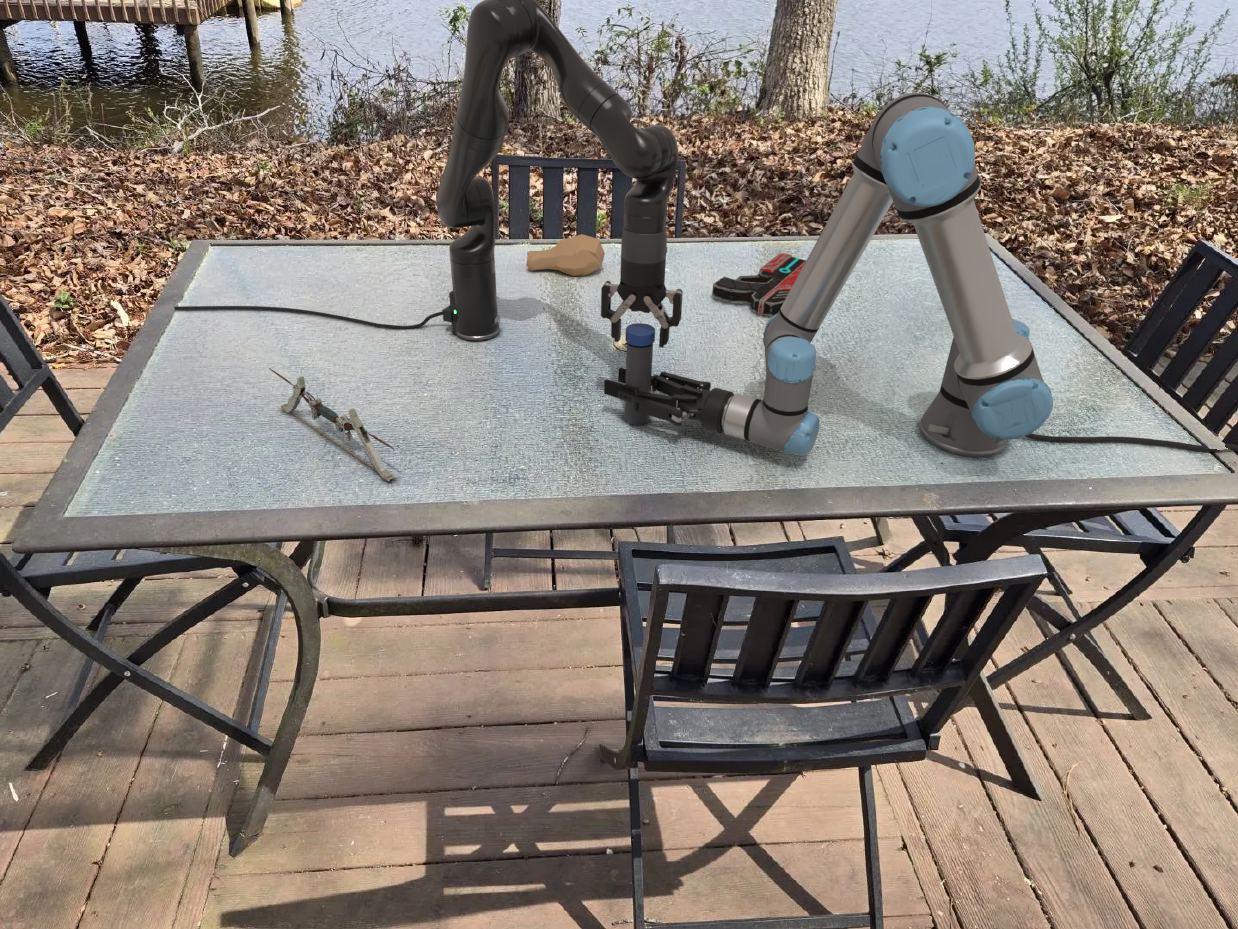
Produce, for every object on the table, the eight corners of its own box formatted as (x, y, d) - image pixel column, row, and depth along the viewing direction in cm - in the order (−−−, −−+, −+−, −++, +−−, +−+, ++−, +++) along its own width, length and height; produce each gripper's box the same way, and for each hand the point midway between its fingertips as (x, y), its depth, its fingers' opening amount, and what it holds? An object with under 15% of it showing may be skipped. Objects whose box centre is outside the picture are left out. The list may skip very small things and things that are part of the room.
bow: (404, 484, 144) (397, 432, 138) (395, 489, 143) (388, 437, 137) (282, 401, 165) (271, 354, 160) (273, 405, 164) (262, 357, 158)
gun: (708, 284, 207) (784, 305, 199) (760, 245, 229) (831, 262, 221) (706, 302, 209) (781, 323, 201) (758, 261, 231) (828, 278, 223)
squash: (606, 279, 220) (601, 247, 214) (527, 286, 222) (521, 255, 215) (606, 257, 228) (602, 226, 222) (531, 264, 229) (524, 233, 223)
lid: (650, 348, 152) (651, 337, 151) (621, 343, 153) (622, 333, 152) (657, 336, 156) (658, 325, 155) (630, 331, 157) (630, 321, 156)
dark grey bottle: (640, 410, 166) (643, 325, 157) (654, 420, 163) (658, 335, 153) (619, 416, 164) (622, 331, 154) (633, 427, 161) (636, 340, 151)
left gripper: (596, 256, 144) (595, 347, 153) (682, 265, 142) (676, 357, 151) (606, 241, 150) (605, 329, 159) (689, 250, 148) (683, 338, 157)
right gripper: (706, 455, 149) (588, 419, 158) (745, 410, 162) (634, 378, 171) (710, 417, 144) (588, 382, 153) (750, 373, 157) (635, 343, 166)
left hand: (639, 342), depth 155 cm, fingers open, 7 cm apart
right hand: (612, 380), depth 162 cm, fingers closed on dark grey bottle, 5 cm apart
